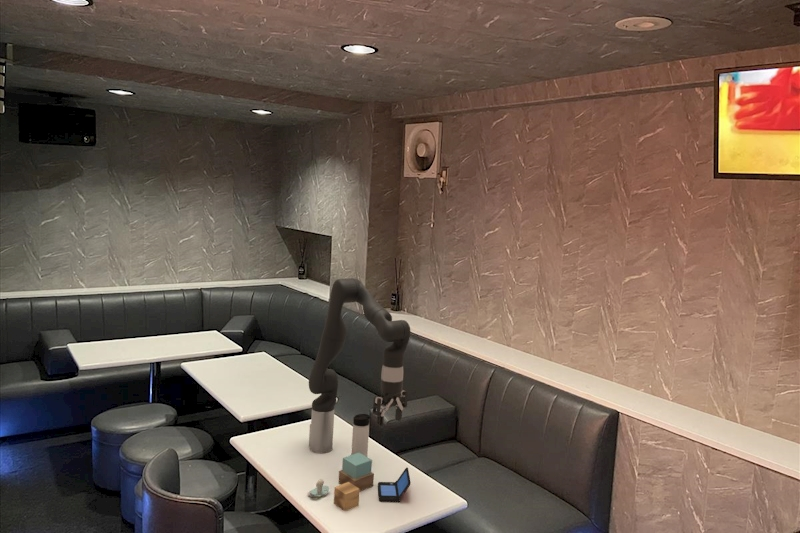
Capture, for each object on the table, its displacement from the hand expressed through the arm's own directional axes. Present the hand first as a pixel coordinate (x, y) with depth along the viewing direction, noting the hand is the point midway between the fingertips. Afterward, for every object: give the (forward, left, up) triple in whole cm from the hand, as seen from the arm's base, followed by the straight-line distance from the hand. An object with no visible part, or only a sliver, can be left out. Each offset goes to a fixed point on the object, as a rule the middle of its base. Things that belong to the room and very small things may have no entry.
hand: (389, 422), depth 195 cm
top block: (-12, -3, -22) cm, 25 cm away
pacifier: (-15, -18, -27) cm, 36 cm away
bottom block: (-12, -3, -27) cm, 30 cm away
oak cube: (-4, -14, -27) cm, 31 cm away
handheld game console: (+1, +4, -27) cm, 27 cm away
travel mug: (-24, +8, -27) cm, 37 cm away
